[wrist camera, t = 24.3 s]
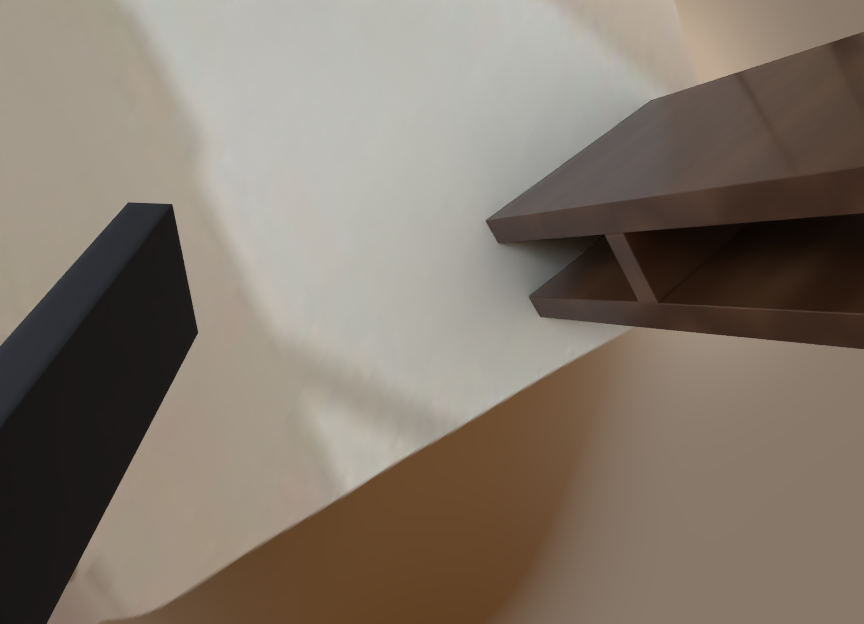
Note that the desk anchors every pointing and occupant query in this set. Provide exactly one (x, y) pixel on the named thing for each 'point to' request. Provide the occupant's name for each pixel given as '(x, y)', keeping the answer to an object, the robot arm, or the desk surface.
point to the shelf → (718, 208)
